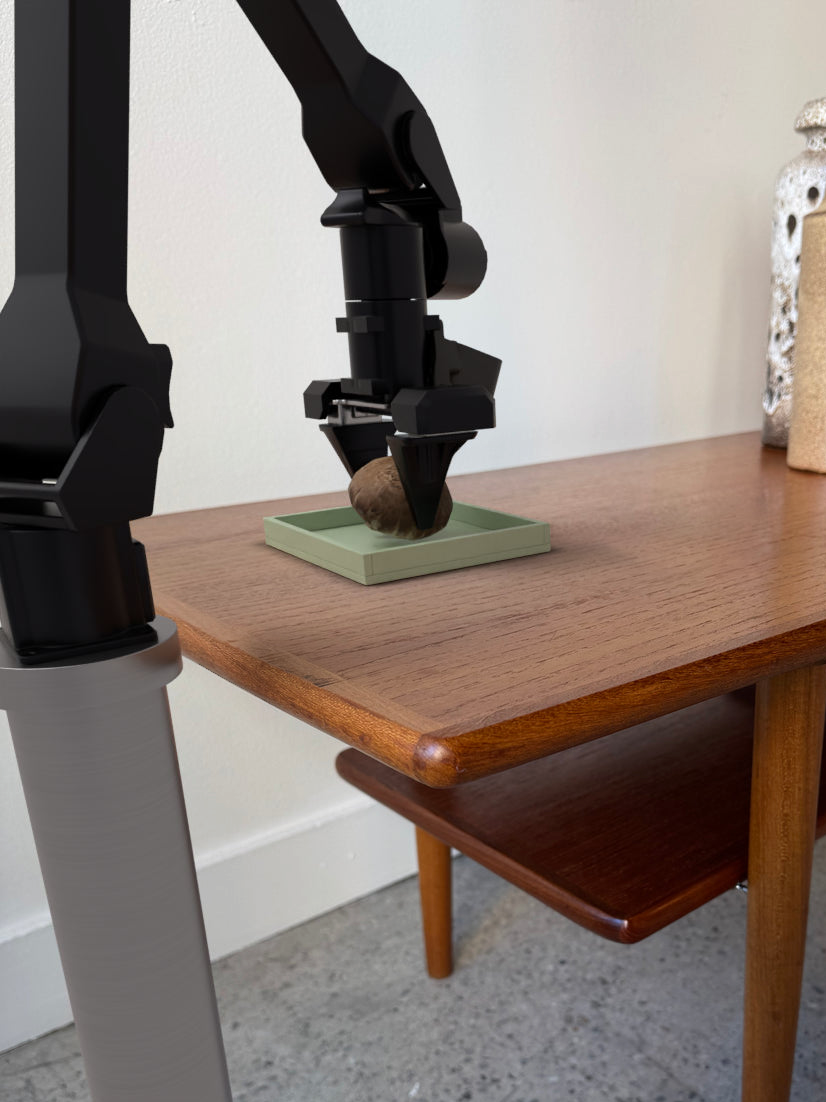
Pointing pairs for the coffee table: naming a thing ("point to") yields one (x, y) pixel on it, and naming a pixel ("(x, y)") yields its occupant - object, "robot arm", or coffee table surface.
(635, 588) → the coffee table surface
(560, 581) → the coffee table surface
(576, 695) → the coffee table surface
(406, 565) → the tray
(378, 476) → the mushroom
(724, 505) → the coffee table surface
